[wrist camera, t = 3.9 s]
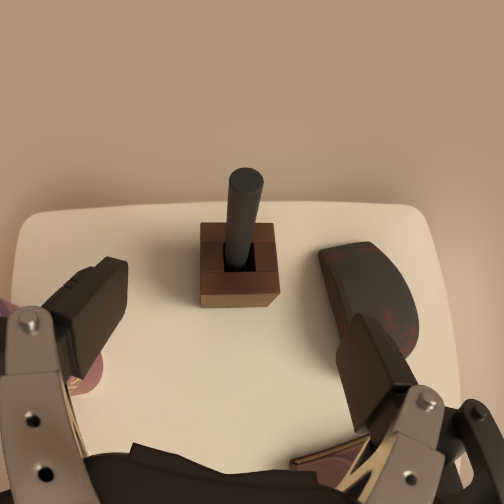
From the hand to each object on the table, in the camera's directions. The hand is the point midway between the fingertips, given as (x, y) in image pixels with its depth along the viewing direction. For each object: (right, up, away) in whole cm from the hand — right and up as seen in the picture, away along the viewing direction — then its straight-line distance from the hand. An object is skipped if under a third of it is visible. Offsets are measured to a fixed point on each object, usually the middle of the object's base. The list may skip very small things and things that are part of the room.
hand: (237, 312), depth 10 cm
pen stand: (-1, 0, +18) cm, 18 cm away
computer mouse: (+12, -4, +19) cm, 22 cm away
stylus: (-1, 0, +18) cm, 18 cm away
